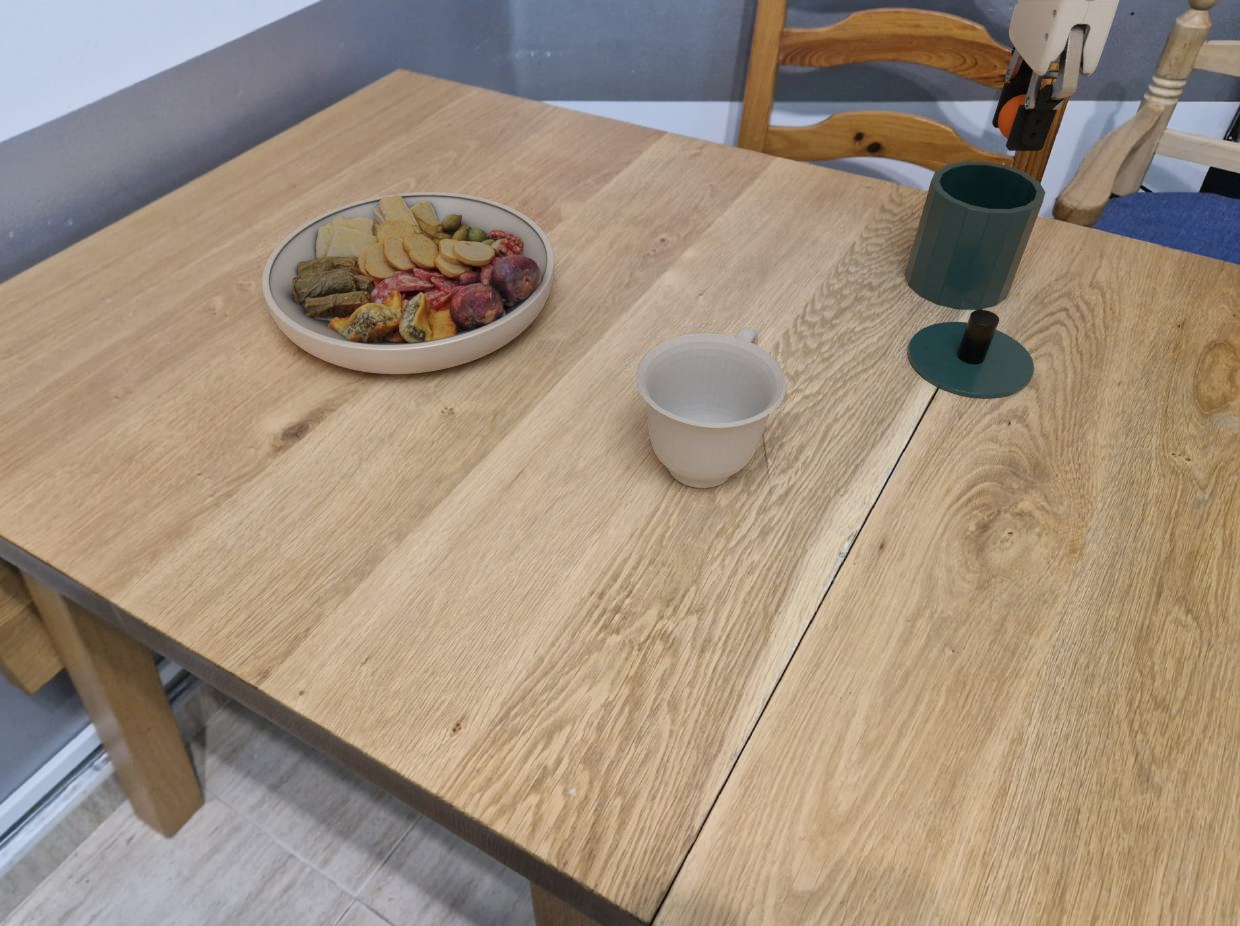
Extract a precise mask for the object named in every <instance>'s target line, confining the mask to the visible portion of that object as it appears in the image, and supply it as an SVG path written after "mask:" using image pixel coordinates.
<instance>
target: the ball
mask: <svg viewBox="0 0 1240 926" xmlns="http://www.w3.org/2000/svg"><path fill="white" fill-rule="evenodd" d="M1026 95H1027V94H1024V95H1019V96H1016V97H1014V98H1012V99H1010V100H1009V101H1008V102H1007V103H1006V104H1005V105H1004V106H1003V108H1002V109H1001V111H1000V114H999V117H998V126H999V128H998V130H999V132H1000V133H1001V135H1002V136H1003V137H1004V138H1006V139H1007V140H1008V137H1009V134H1010V131H1011V128H1012V125H1013V122H1014V119H1015V116H1016V113H1017V110H1018V107H1019V105H1025V99H1026Z"/></svg>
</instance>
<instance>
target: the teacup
mask: <svg viewBox="0 0 1240 926" xmlns="http://www.w3.org/2000/svg"><path fill="white" fill-rule="evenodd" d="M758 344H759V335H758V332H757V331H756V330H755V329H754V328H751V327H746V326H744V327H741V328H740V329H739V330H738V331H737V332H736V334H735V336H733V335H729V334H728V335H727V334H723V333H714V332H697V333H696V332H695V333H688V334H684V335H679V336H676V337H673V338H670V339H667V340H664V341H663V342H661V343H658V344H657V345H655V346H654V347H652V348H651V349H649V350H648V351H647V352H646V353H645V354H644V355H643V357H642V358H641V359H640V361H639V362H638V365H637V367H636V371H635V381H636V386H637V389H638V391H639V393H640V395H641V397H642V398H643V399H644V400H645V403H646V404H645V405H646V414H647V415H646V416H647V425H648V426H647V427H648V433H649V438H650V439H649V440H650V444H651V446H652V449H653V452H654V454H655V456H656V457H657V459H658V460H659V461H660V462H661V464H663V466H665V468H667V469H668V472H669V473H670V475H671V476H672V477H673V478H674V479H675V480H676V481H677V482H679V483H681V484H683V485H685V486H687V487H692V488H697V489H710V488H715V487H718V486H720V485H722V484H724V483H725V482H726V481H728V480H729V479H730V477H731V476H733V475H735V474H736V473H738V472H739V471H741V470H742V469H744V467H746V466H747V465H748V464H749V463H750V461H751V460H752V458H753V457H754V455H755V453H756V451H757V449H758V447H759V445H760V443H761V440H762V436H763V434H764V431H765V429H766V425H767V422H768V419H769V416H770V414H772V412H774V411H775V410H776V409H777V408H778V407H779V405H780V404H782V402H783V400H784V398H785V395H786V392H787V379H786V374H785V372H784V369H783V368H782V367H781V364H779V362H778V361H777V360H776V359H775V358H774V357H773V356H772V355H771V353H769V352H767V351H766V350H765V349H764V348H762V347H760V346H758Z"/></svg>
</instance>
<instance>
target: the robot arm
mask: <svg viewBox="0 0 1240 926" xmlns="http://www.w3.org/2000/svg"><path fill="white" fill-rule="evenodd" d="M1119 3H1120V0H1016V1H1015V4H1014V7H1013V12H1012V15H1011V19H1010V23H1009V26H1008V27H1009V28H1008V37H1009V40H1010V42H1011V43H1012V44H1013V47H1012V50H1011V52H1010V55H1011V59H1010V62H1009V63H1008V66H1007V70H1006V72H1005V76H1004V77H1005V79H1004V80H1005V82H1004V84H1003V86H1002V90H1001V93H1000V95H999V98H998V101H997V105H996V107H995V111H994V115H993V117H992V120H991V124H992V126H993V127H994V128H995V129H999V126H998V117H999V114H1000V111H1001V109H1002V108H1003V106H1004V105H1005V104H1006V103H1007V102H1008V101H1009V100H1010V99H1012V98H1014V97H1016V96H1019V95H1024V94H1027V95H1026V99H1025V105H1019V107H1018V110H1017V113H1016V116H1015V119H1014V122H1013V125H1012V128H1011V131H1010V134H1009V137H1008V139H1007V140H1006V143H1005V147H1006V149H1007V150H1008V151H1009V152H1039V151H1042V150H1043V149H1044V147H1045V144H1046V142H1047V138H1048V135H1049V133H1050V130H1051V128H1052V124H1053V123H1054V119H1055V116H1056V114H1057V111H1059V110H1060V109H1061V107H1062V104H1063V101H1064V100H1065V99H1066V98H1069V97H1071V96H1074V95H1075V94H1076V93H1077V90H1078V86H1079V77H1080V75H1081V76H1082V77H1089V76H1091V75H1093V73H1094V72H1096V69H1097V67H1098V65H1099V62H1100V59H1101V56H1102V54H1103V51H1104V48H1105V45H1106V42H1107V40H1108V36H1109V33H1110V31H1111V27H1112V25H1113V22H1114V19H1115V16H1116V13H1117V9H1118V7H1119ZM1051 64H1058V68H1050V65H1051ZM1043 80H1054V81H1053V82H1052V83H1051V84H1050V83H1049V84H1048V83H1047V84H1045V85H1044V86H1043V87H1042V82H1043Z"/></svg>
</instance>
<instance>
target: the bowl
mask: <svg viewBox="0 0 1240 926" xmlns="http://www.w3.org/2000/svg"><path fill="white" fill-rule="evenodd" d="M261 276H262V277H261V286H262V287H261V288H262V293H263V294H262V295H263V297H264V301H265V303H266V307H267V309H268V312H269V314H270V315H271V317H272V319H273V321H274V322H275V324H276V325H277V326H278V327H279V329H280V330H281V331H282V333H283V334H284V335H285V336H286V337H287V338H288V339H289V340H290V341H291V342H292V343H294V344H295V345H296V346H298V347H299V348H301V349H302V350H303V351H305V352H306V353H308V354H309V355H312V356H313V357H315V358H318V359H319V360H321V361H325V362H327V363H329V364H331V365H335V366H338V367H340V368H345V369H349V370H353V371H359V372H365V373H371V374H383V375H411V374H421V373H428V372H435V371H441V370H446V369H450V368H454V367H457V366H460V365H465V364H467V363H470V362H474V361H475V360H478V359H481V358H483V357H485V356H487V355H489V354H491V353H493V352H495V351H497V350H499V349H501V348H502V347H505V346H506V345H508V344H509V343H510V342H511V341H513V340H515V339H516V338H517V337H519V336H520V335H521V334H522V333H523V332H525V330H526V329H527V328H529V326H530V325H531V324H532V323H533V322H534V321H535V320H536V318H537V317H538V316H539V314H540V313H541V311H542V310H543V308H544V306H545V305H546V303H547V301H548V298H549V297H550V294H551V291H552V287H553V283H554V277H555V254H554V249H553V245H552V243H551V241H550V239H549V238H548V236H547V235H546V233H545V232H544V230H543V229H542V228H541V227H540V226H539V225H538V224H537V222H535V221H534V220H532V219H531V218H530V217H529V216H527V215H526V214H524V213H522V212H520V211H518V210H517V209H514V208H513V207H511V206H508V205H506V204H504V203H500V202H498V201H495V200H492V199H489V198H484V197H480V196H475V195H469V194H464V193H455V192H445V191H444V192H443V191H413V192H401V193H400V192H399V193H393V194H386V195H379V196H373V197H369V198H366V199H361V200H357V201H354V202H351V203H347V204H344V205H342V206H339V207H336V208H333V209H331V210H329V211H326V212H323V213H321V214H320V215H318V216H316V217H314V218H311V219H310V220H308V221H307V222H305V223H303V224H301V225H300V226H299V227H297V228H295V229H294V230H293V231H292V232H290V233H289V234H288V235H287V236H285V238H284V239H282V240H281V241H280V242H279V243H278V245H277V246H276V247H275V248H274V250H272V252H271V254H270V255H269V257H268V259H267V261H266V262H265V265H264V268H263V272H262V275H261Z"/></svg>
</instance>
